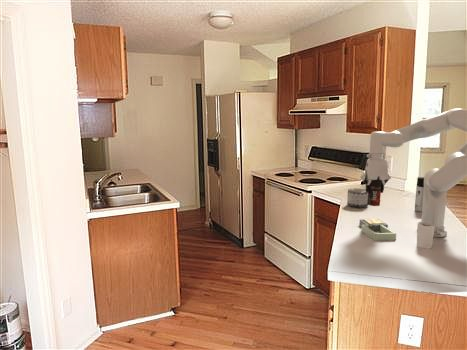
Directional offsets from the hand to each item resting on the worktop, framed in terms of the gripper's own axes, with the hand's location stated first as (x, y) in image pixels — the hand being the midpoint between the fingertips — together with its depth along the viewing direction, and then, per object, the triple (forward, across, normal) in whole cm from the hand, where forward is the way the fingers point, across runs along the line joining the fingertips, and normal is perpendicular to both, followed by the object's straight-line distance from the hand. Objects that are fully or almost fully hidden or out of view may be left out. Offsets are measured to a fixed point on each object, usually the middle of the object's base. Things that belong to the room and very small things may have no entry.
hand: (374, 192), depth 176 cm
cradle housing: (+19, +1, 0) cm, 19 cm away
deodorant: (+7, 0, 0) cm, 7 cm away
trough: (+19, -2, -11) cm, 22 cm away
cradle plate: (+17, +1, 0) cm, 17 cm away
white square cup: (+19, +11, -27) cm, 35 cm away
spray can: (+18, +45, +29) cm, 56 cm away
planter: (+19, +12, +43) cm, 49 cm away
